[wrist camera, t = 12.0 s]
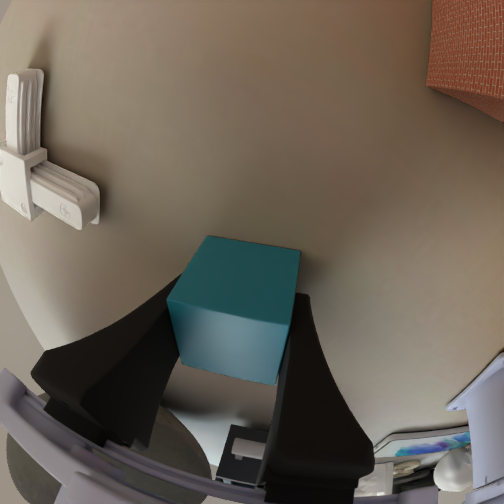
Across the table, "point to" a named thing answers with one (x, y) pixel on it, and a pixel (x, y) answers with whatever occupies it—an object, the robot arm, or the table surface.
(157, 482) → the bowl
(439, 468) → the ice cream cone
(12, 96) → the corner connector
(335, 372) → the table surface
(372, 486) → the white holder
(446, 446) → the smartphone
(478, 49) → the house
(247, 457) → the drawer
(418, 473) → the caster wheel
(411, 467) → the decorative object
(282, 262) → the teal cube block
